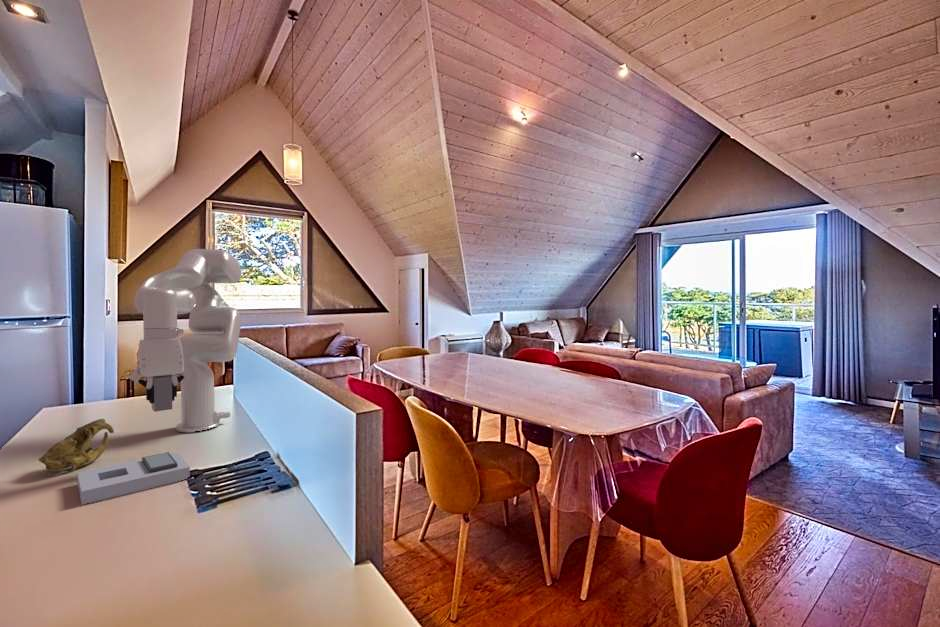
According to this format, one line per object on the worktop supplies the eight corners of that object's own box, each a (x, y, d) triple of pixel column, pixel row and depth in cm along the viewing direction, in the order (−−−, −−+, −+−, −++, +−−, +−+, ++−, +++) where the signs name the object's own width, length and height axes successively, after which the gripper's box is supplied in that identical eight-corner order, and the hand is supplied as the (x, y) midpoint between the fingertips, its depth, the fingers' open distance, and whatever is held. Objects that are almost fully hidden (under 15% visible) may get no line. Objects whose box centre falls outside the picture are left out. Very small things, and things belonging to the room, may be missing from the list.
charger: (169, 406, 123) (168, 373, 123) (172, 409, 121) (171, 375, 120) (151, 408, 121) (151, 375, 120) (154, 411, 118) (154, 377, 117)
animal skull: (130, 444, 123) (114, 416, 118) (72, 488, 111) (51, 460, 106) (106, 437, 126) (89, 411, 121) (46, 480, 113) (25, 452, 108)
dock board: (176, 462, 119) (176, 448, 118) (189, 478, 109) (189, 462, 108) (77, 484, 105) (77, 467, 105) (81, 505, 95) (81, 486, 95)
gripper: (192, 331, 128) (193, 394, 129) (119, 334, 116) (121, 403, 117) (199, 333, 123) (200, 398, 124) (123, 337, 111) (125, 409, 112)
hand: (161, 400), depth 120 cm, fingers closed on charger, 4 cm apart
